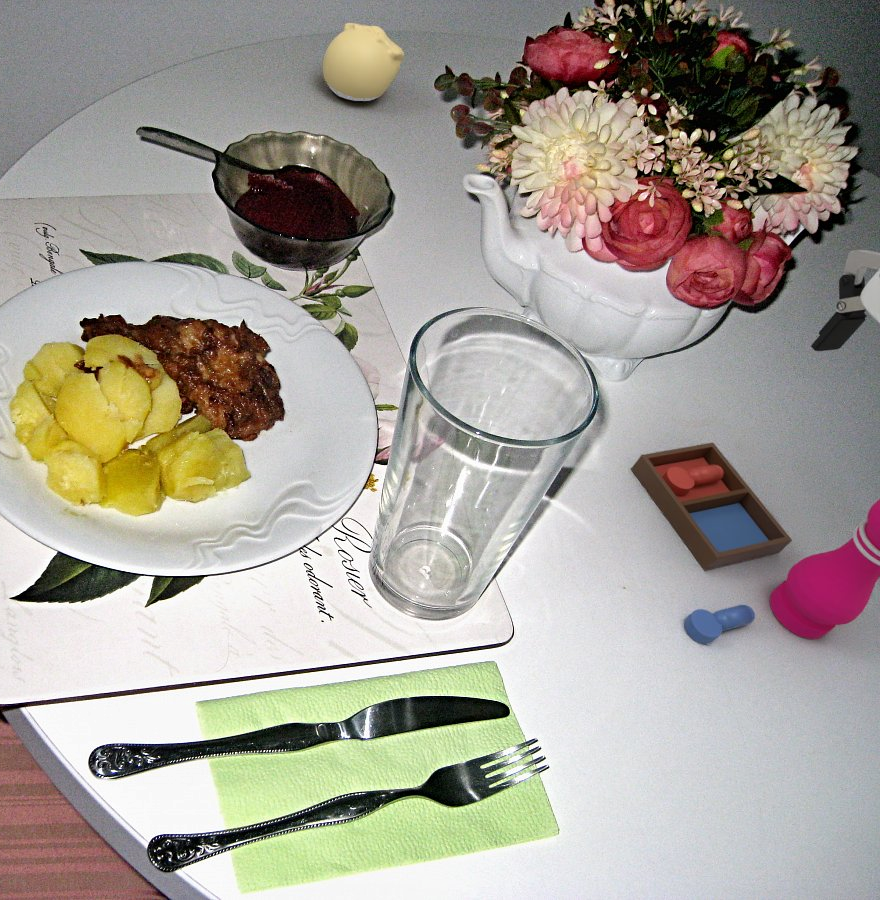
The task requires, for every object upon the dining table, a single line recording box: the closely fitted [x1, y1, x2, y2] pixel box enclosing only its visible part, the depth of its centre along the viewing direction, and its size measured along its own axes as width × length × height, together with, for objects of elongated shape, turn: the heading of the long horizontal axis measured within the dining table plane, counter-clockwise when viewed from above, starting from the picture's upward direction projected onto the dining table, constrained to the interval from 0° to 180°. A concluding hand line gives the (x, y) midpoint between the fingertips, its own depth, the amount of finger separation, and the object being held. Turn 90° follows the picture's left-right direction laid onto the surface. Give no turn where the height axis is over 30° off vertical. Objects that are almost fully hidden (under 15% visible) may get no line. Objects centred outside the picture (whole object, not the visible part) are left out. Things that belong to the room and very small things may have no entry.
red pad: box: [655, 458, 748, 513], centre depth 102 cm, size 10×7×2 cm
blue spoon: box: [683, 604, 756, 645], centre depth 90 cm, size 8×3×2 cm, turn 109°
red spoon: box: [662, 465, 724, 496], centre depth 102 cm, size 8×3×2 cm, turn 109°
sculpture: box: [322, 22, 405, 99], centre depth 146 cm, size 12×12×11 cm
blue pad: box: [689, 503, 769, 553], centre depth 98 cm, size 9×6×1 cm, turn 109°
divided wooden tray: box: [630, 442, 793, 572], centre depth 100 cm, size 11×14×2 cm
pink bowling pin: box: [769, 498, 880, 640], centre depth 86 cm, size 7×7×20 cm
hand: (860, 385), depth 80 cm, fingers open, 9 cm apart
